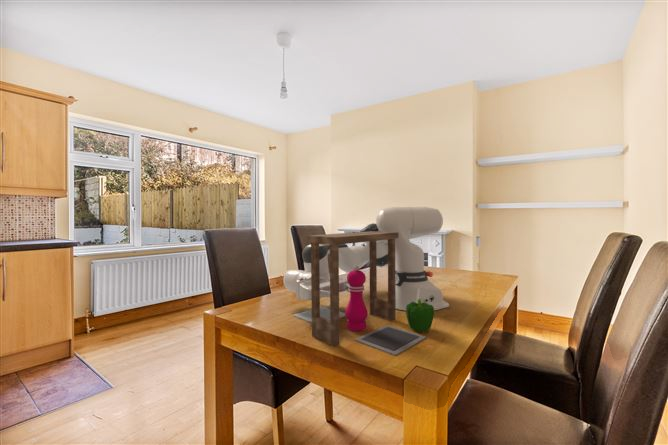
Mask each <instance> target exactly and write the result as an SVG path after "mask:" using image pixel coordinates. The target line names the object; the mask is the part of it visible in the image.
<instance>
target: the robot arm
mask: <svg viewBox="0 0 668 445" xmlns="http://www.w3.org/2000/svg"><path fill="white" fill-rule="evenodd" d="M443 222H444V219H443V214H442V212H440V210H439V209H437V208H434V207H430V206H429V207H427V206H391V207H388V208H387V207H386V208H383V209H380V210H379V212H377V215H376V217H375V223H369V224H366V225H364V226H363V227H362V229H361V230H359V232H369V231H374V232H399V238H397V239H395V290H396V310H400V311H405V312H406V307H407V304H410V303H411V302H415V303H418V299H421V303H423V302H425V303H427V304H428V305H432V306H433V308H434V311H437V310H438V311H439V310H442V309H447V308H450V304H449V302H448V301H445V300H444V298H443V292H442V290H441V289H440V288H439V287H438V286H437V285H435V284H434V283H433V282H432V281H430V280H429V278H432V277H434V273H433V272H432V271H428V270H427V271H426V270H425V253H424V250H423V249H422V248H421V247H420V246H419V245H417V244H415V243H413V242H411V240H412V239H416V238H420V237H423V236H427V235H433V234H437V233H438V232H440V231H441V229H442V227H443ZM362 243H363V244H364V245H361V244H360V245H353V246H348V244H340V245H339V270H341V271H343V272H345V273H349V272H350V271H353V270H354V269H353V268H354V266H355V265H357V266H358V267H359V269H361V268H362V267H364V266H365V265H366V264H368V263H370V260H369V241H368V242H362ZM329 255H330V244H320V243H319V269H320V299H321V298H329V299H330V266H329V258H328V256H329ZM301 256H302V260H303V266H304V267H303V268H304V270H303V269H302V270H301V269H288V270H286V272H284V275H283V286H284V287H285V288H286V290H288V291H290V292H293V293H295V297H296V299H298V300H304V301H312V295H311V243H310V244H308V245H306V246H305V247H304V248H303V250H302V252H301ZM376 258H377V267H380V268H383V267H388V240H378V241H376ZM428 277H429V278H428ZM349 285H350V284H349V283H348V282H347V278H342V277H339V293H342V292H346V293H350V290H349V287H348V286H349Z"/></svg>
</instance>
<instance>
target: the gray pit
mask: <svg viewBox="0 0 668 445" xmlns="http://www.w3.org/2000/svg"><path fill="white" fill-rule="evenodd" d="M425 339H427V336H425V335H421V334H418V333H417V332H416V333H415V332H412V331H408V330H404V329H402V328H398V327H395V326H393V325H392V326H391V325H390V324H389V325H388V324H386V325H383V326H381V327H379V328H376V329H375V330H374V329H373V331H370V332H368V333H365V334H363V335H361V336H359V337H356V338H354V339H353V340H354V341H355V342H357V343H360V344H363V345H366V346H368V347H371V348H373V349H376V350H379V351H381V352H384V353H387V354H389V355H392V356H395V357H396V356H398V355H399V354H401V353H403V352H405V351H407V350H408V349H410V348H411V347H413V346H415V345H417V344H419V343H421V342H423V340H425Z"/></svg>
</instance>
